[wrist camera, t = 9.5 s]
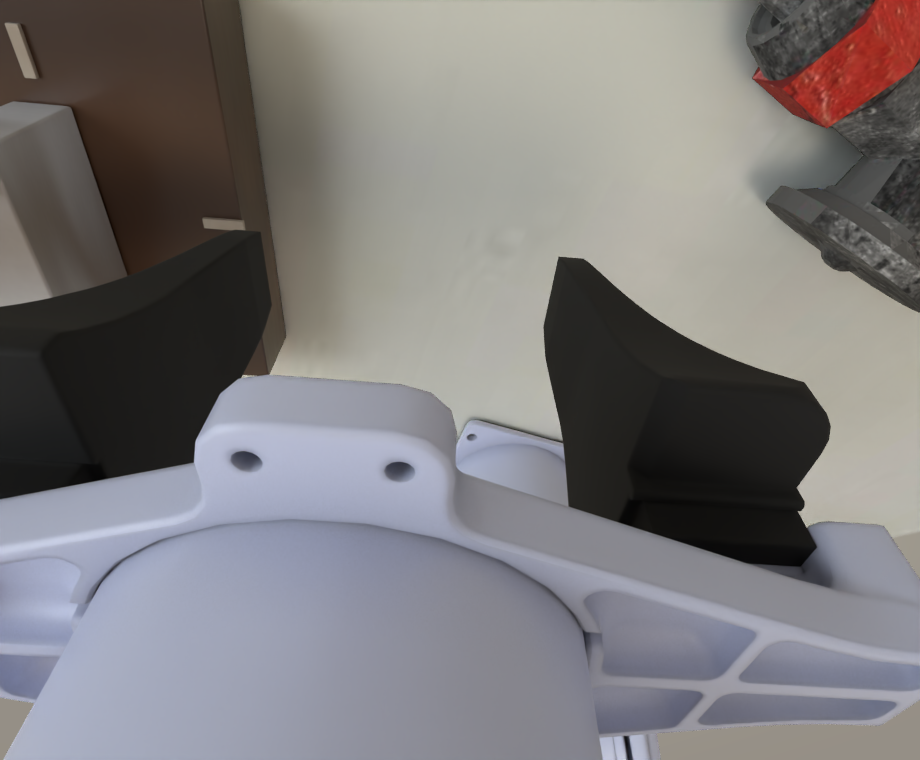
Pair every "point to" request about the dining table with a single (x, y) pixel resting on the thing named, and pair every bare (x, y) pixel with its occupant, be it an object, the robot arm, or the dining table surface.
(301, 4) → the dining table surface
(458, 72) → the dining table surface
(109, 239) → the tap handle
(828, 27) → the grey and red tool
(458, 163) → the dining table surface
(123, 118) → the block
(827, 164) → the dining table surface
